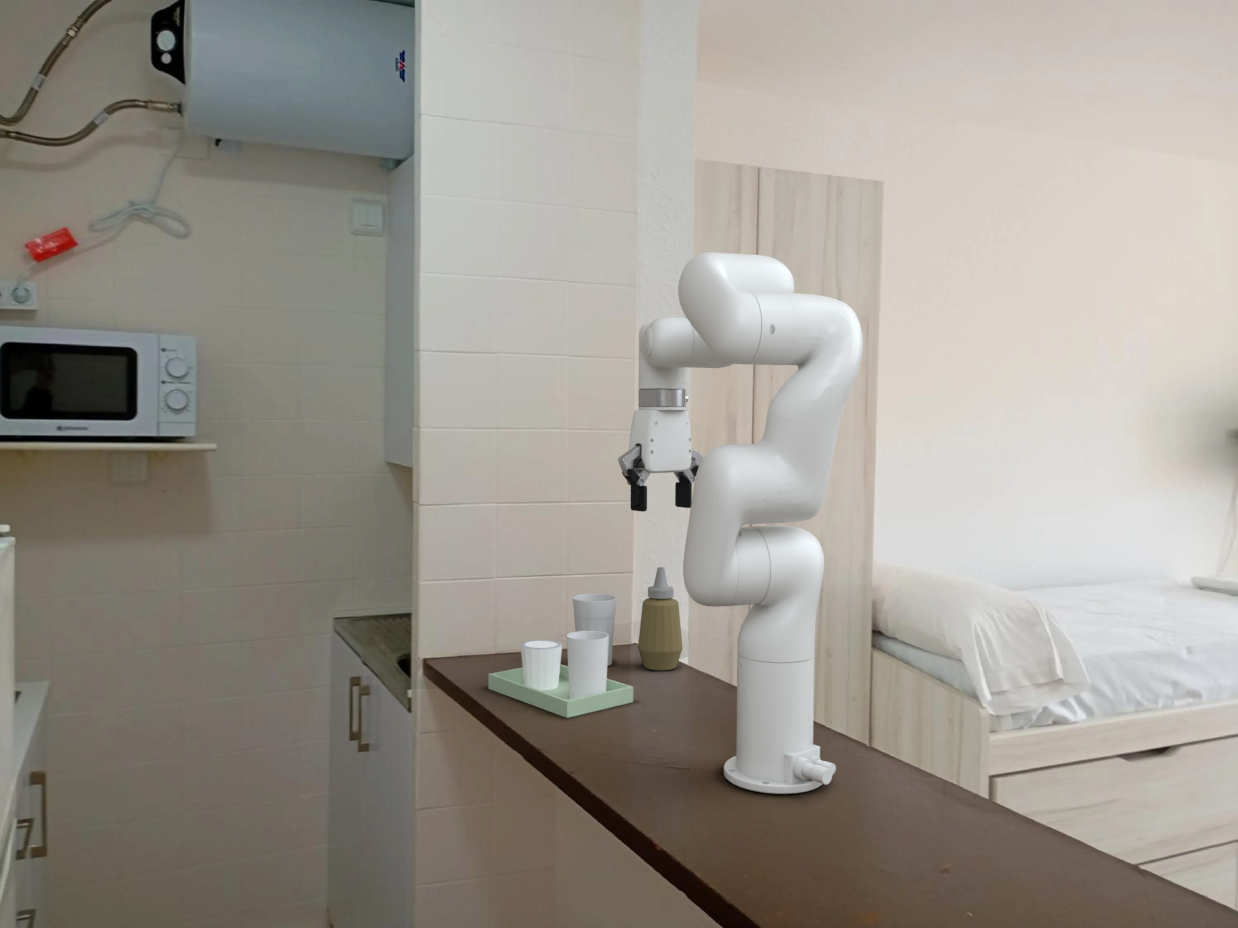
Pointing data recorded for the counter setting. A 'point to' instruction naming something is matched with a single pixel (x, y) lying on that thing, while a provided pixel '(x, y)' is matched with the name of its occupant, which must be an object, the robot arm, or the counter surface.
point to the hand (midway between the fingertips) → (661, 508)
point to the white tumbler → (587, 663)
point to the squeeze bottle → (660, 626)
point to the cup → (596, 615)
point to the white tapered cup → (541, 664)
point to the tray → (559, 693)
